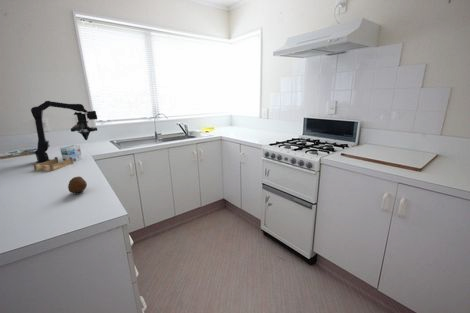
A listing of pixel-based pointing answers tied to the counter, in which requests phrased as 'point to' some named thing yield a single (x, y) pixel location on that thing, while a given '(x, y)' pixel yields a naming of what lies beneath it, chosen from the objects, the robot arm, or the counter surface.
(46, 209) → the counter surface
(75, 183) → the potato
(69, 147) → the light bulb box
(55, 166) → the wooden frame
